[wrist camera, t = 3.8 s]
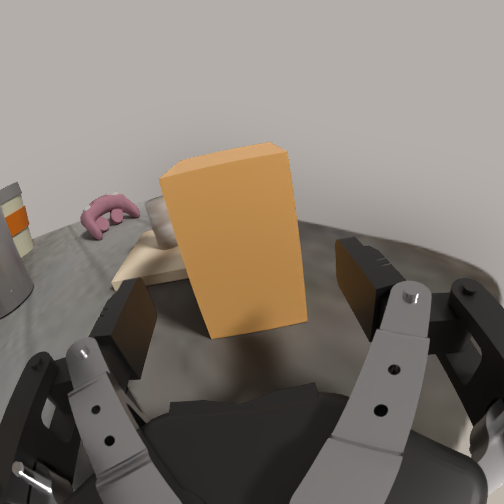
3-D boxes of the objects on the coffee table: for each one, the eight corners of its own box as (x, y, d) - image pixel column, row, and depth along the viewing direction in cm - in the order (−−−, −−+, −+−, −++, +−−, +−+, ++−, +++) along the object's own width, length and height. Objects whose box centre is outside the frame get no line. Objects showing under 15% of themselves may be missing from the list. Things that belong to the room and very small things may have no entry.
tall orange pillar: (211, 339, 17) (158, 179, 12) (214, 285, 22) (180, 160, 17) (307, 321, 16) (287, 151, 12) (289, 271, 22) (269, 142, 17)
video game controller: (134, 223, 48) (115, 193, 47) (144, 213, 45) (124, 180, 44) (92, 249, 41) (73, 215, 40) (98, 239, 38) (77, 202, 37)
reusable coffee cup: (19, 263, 40) (-7, 193, 33) (-10, 273, 40) (-34, 212, 33) (48, 237, 51) (28, 176, 44) (18, 248, 51) (-2, 194, 44)
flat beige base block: (115, 291, 24) (90, 234, 21) (146, 239, 35) (132, 196, 32) (215, 273, 24) (197, 206, 21) (220, 222, 34) (209, 176, 32)
